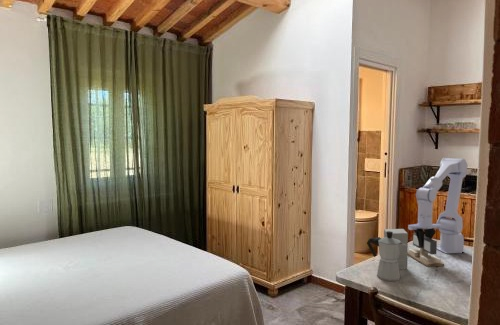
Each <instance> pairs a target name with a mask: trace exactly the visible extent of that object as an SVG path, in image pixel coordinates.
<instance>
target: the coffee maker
mask: <svg viewBox="0 0 500 325" xmlns="http://www.w3.org/2000/svg"><path fill="white" fill-rule="evenodd" d="M392 234H393V232H391V231H387V237H385V238H384V237H380V236H376V237H370V238H368V240H367V242H366V244H367V246H368V248H369V250H370V252H371V254H372V255H373V257H374V258H376V256H377V255H378V254H379V256H380V259H379V262H378V268H377V272H376V277H377V278H379V279H380V280H381V281H382V280H383V281H387V282H399V281H400V279H401V274H400V269H399V265H398V261H397V259H398V258H399V255H400V252H401V251H402V249H403V248H404V246H406V244H404V243H402V242H401V241H400V240H398V239H394V238H392ZM372 244H373V245H375V246H377V247H378V252H379V253H378V254H377V253H376V251H375V249H374V248H373V246H372Z"/></svg>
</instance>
